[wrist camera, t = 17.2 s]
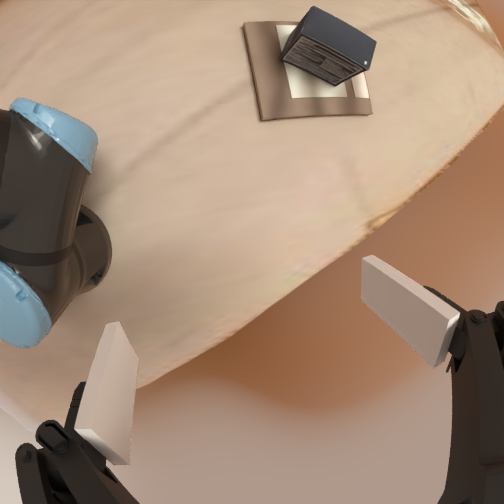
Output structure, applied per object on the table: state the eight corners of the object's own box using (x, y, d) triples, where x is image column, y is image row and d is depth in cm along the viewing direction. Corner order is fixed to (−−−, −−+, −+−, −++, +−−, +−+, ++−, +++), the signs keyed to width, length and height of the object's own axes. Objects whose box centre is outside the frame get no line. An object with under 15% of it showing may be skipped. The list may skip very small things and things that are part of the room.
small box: (345, 59, 36) (379, 40, 26) (335, 88, 37) (370, 72, 28) (290, 31, 33) (313, 3, 23) (277, 60, 35) (299, 33, 25)
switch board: (261, 120, 39) (264, 119, 37) (242, 26, 33) (244, 21, 31) (368, 115, 41) (373, 113, 40) (348, 30, 35) (352, 26, 34)
